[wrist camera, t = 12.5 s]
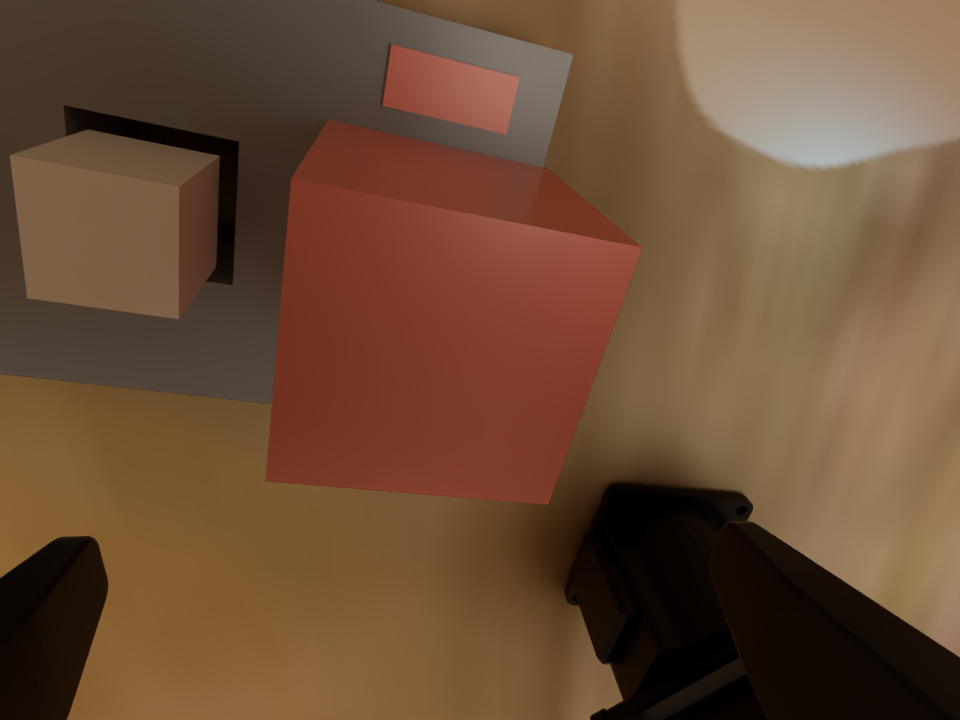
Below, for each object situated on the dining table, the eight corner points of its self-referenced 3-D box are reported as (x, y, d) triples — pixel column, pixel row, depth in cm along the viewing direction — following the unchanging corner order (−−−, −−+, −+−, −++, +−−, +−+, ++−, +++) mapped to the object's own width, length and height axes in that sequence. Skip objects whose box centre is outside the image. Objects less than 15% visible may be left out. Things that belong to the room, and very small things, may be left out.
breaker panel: (542, 51, 16) (575, 55, 13) (461, 375, 20) (473, 430, 17) (-269, -169, 12) (-472, -232, 9) (-146, 295, 16) (-256, 350, 13)
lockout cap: (547, 168, 14) (642, 247, 9) (495, 354, 16) (548, 504, 11) (328, 119, 13) (291, 178, 8) (305, 327, 15) (265, 481, 10)
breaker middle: (219, 156, 13) (179, 186, 10) (216, 266, 14) (178, 319, 12) (88, 129, 12) (10, 155, 10) (95, 247, 14) (27, 298, 11)
